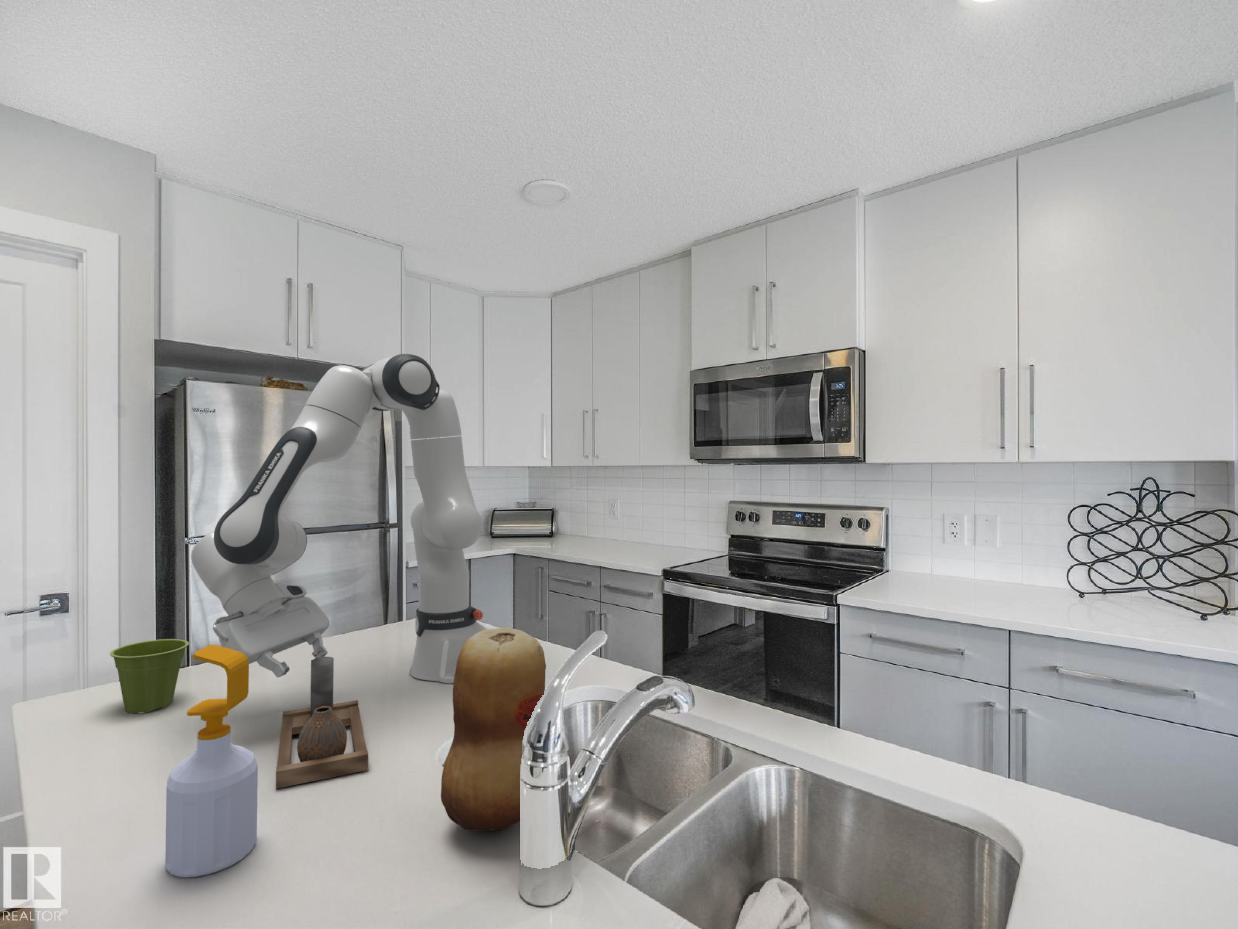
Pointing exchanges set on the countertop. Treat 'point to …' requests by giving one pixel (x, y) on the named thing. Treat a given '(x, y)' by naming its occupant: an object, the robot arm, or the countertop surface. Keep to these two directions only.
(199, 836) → the soap bottle
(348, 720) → the strip frame
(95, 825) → the countertop surface
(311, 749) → the vase
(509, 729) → the butternut squash
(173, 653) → the plant pot
